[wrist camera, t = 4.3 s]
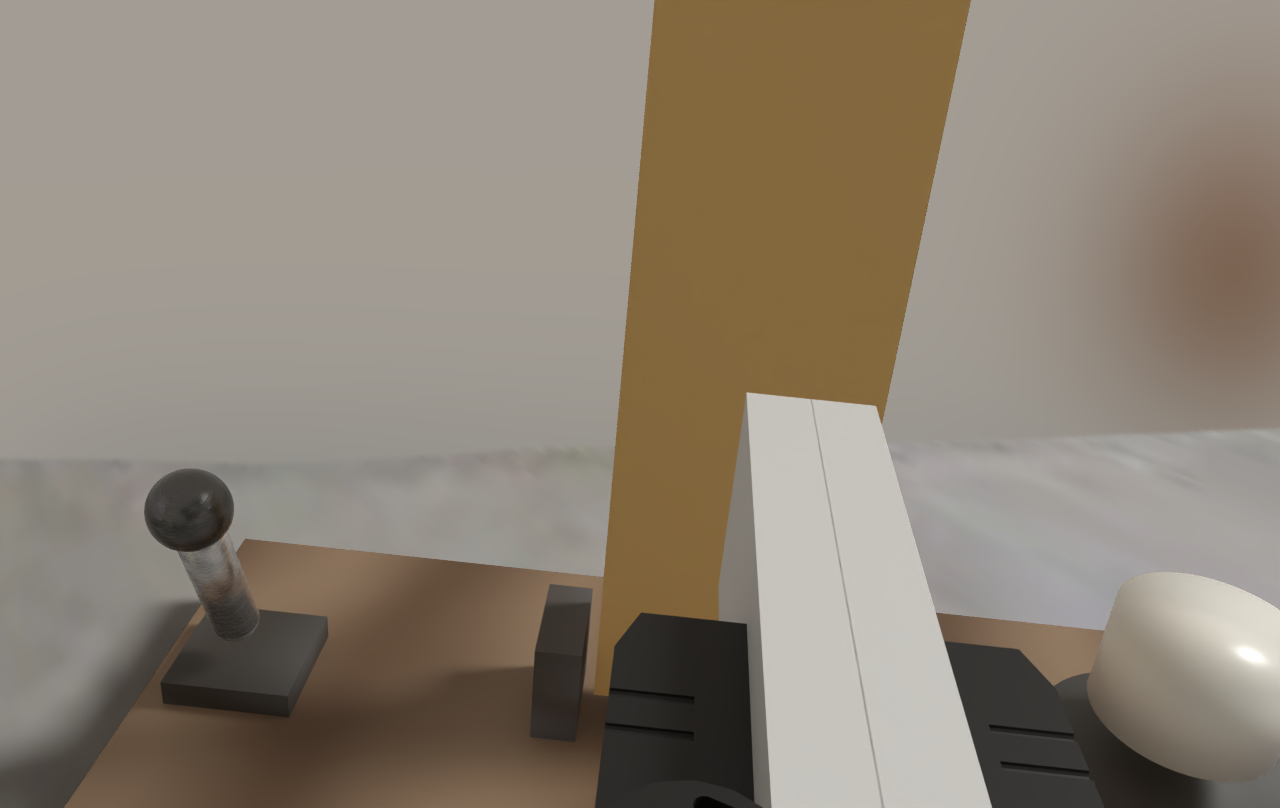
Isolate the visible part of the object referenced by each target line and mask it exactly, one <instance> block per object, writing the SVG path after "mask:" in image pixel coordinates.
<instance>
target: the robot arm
mask: <svg viewBox="0 0 1280 808" xmlns="http://www.w3.org/2000/svg"><path fill="white" fill-rule="evenodd" d="M595 808H1104V805H1103V803H1102V800H1101V798H1100V795H1099V793H1098V791H1097V788H1096V786H1095V783H1094V781H1093V780H1089V768H1088V766H1087V763H1086V761H1085V758H1084V756H1083V754H1082V751H1081V749H1080V746H1079V744H1078V742H1074V731H1073V729H1072V726H1071V724H1070V721H1069V719H1068V717H1067V714H1066V712H1065V709H1064V707H1063V704H1062V702H1061V699H1060V697H1059V694H1058V692H1057V689H1056V688H1055V687H1054V686H1053V685H1052V684H1051V683H1050V682H1049V681H1048V680H1047V679H1046V678H1045V677H1044V675H1043V674H1042V673H1041V672H1040V671H1039V670H1038V669H1037V668H1036V667H1035V666H1034V665H1033V664H1032V663H1031V662H1030V661H1029V659H1028V658H1027V657H1026V656H1025V655H1024V654H1023V653H1022V652H1021V651H1020V650H1019V649H1013V648H1004V647H994V646H985V645H976V644H966V643H957V642H948V641H944V640H943V636H942V633H941V629H940V626H939V622H938V619H937V615H936V612H935V608H934V605H933V602H932V598H931V595H930V591H929V588H928V584H927V581H926V577H925V574H924V570H923V567H922V563H921V560H920V557H919V553H918V550H917V546H916V543H915V539H914V536H913V532H912V529H911V525H910V522H909V519H908V515H907V512H906V508H905V505H904V501H903V498H902V494H901V491H900V487H899V484H898V480H897V477H896V474H895V470H894V467H893V463H892V460H891V456H890V453H889V449H888V446H887V442H886V439H885V436H884V432H883V429H882V425H881V422H880V418H879V415H878V411H877V408H876V406H872V405H862V404H853V403H843V402H833V401H824V400H814V399H805V398H795V397H785V396H776V395H766V394H757V393H746V399H745V406H744V413H743V420H742V427H741V434H740V441H739V448H738V454H737V461H736V468H735V475H734V482H733V489H732V496H731V503H730V509H729V516H728V523H727V530H726V537H725V544H724V551H723V558H722V565H721V571H720V578H719V621H717V620H707V619H698V618H689V617H679V616H670V615H660V614H651V613H642V612H641V613H640V614H639V616H638V617H637V618H636V619H635V621H634V622H633V623H632V624H631V626H630V627H629V628H628V629H627V631H626V632H625V633H624V634H623V636H622V637H621V638H620V639H619V641H618V642H617V643H616V645H615V646H614V654H613V663H612V671H611V679H610V687H609V696H608V703H607V711H606V719H605V729H604V736H603V744H602V752H601V760H600V768H599V776H598V785H597V793H596V801H595Z"/></svg>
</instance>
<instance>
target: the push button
mask: <svg viewBox="0 0 1280 808" xmlns="http://www.w3.org/2000/svg"><path fill="white" fill-rule="evenodd" d="M1087 694H1088V698H1089V701H1090V704H1091V706H1092V708H1093V710H1094V712H1095V713H1096V715H1097V716H1098V718H1099V719H1100V720H1101V722H1102V723H1103V724H1104V725H1105V726H1106V727H1107V729H1108V730H1109V731H1111V732H1112V733H1113V734H1114V735H1115V736H1116V737H1117V738H1118V739H1119V740H1121V741H1122V742H1123V743H1124V744H1126V745H1127V746H1128V747H1130V748H1131V749H1133V750H1134V751H1136V752H1137V753H1139V754H1140V755H1142V756H1144V757H1146V758H1147V759H1149V760H1151V761H1153V762H1155V763H1157V764H1159V765H1161V766H1163V767H1166V768H1168V769H1171V770H1173V771H1176V772H1178V773H1182V774H1185V775H1188V776H1191V777H1195V778H1199V779H1204V780H1210V781H1217V782H1242V781H1248V780H1253V779H1256V778H1259V777H1261V776H1263V775H1265V774H1266V773H1268V772H1269V771H1270V770H1271V769H1272V768H1273V767H1274V766H1275V764H1276V763H1277V761H1278V759H1279V757H1280V610H1278V609H1277V608H1276V607H1274V606H1272V605H1271V604H1269V603H1267V602H1266V601H1264V600H1262V599H1260V598H1258V597H1256V596H1255V595H1253V594H1250V593H1248V592H1246V591H1244V590H1242V589H1239V588H1237V587H1234V586H1232V585H1229V584H1226V583H1223V582H1220V581H1217V580H1213V579H1210V578H1206V577H1202V576H1197V575H1192V574H1185V573H1176V572H1155V573H1147V574H1143V575H1139V576H1136V577H1134V578H1132V579H1130V580H1128V581H1126V582H1125V583H1124V584H1123V585H1122V586H1121V588H1120V589H1119V591H1118V593H1117V596H1116V599H1115V602H1114V605H1113V608H1112V611H1111V614H1110V617H1109V620H1108V622H1107V625H1106V628H1105V631H1104V634H1103V637H1102V640H1101V643H1100V646H1099V648H1098V651H1097V654H1096V657H1095V660H1094V663H1093V666H1092V669H1091V672H1090V675H1089V678H1088V681H1087Z"/></svg>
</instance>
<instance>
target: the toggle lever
mask: <svg viewBox="0 0 1280 808" xmlns="http://www.w3.org/2000/svg"><path fill="white" fill-rule="evenodd" d="M144 515H145V521H146V524H147V527H148V529H149V531H150V533H151V534H152V536H153V537H154V538H155V539H156V540H157V541H158V542H159V543H161V544H162V545H164V546H165V547H167V548H170V549H172V550H176V551H178V554H179V556H180V558H181V560H182V562H183V565H184V567H185V569H186V571H187V573H188V575H189V578H190V580H191V582H192V584H193V586H194V589H195V591H196V593H197V595H198V597H199V599H200V602H201V604H202V606H203V608H204V610H205V613H206V615H207V617H208V619H209V621H210V624H211V626H212V628H213V630H214V632H215V633H216V634H217V635H218V636H219V637H220V638H221V639H223V640H225V641H229V642H240V641H243V640H245V639H247V638H249V637H250V636H251V635H252V634H253V633H254V632H255V630H256V629H257V627H258V624H259V620H260V616H259V611H258V608H257V605H256V603H255V600H254V598H253V595H252V593H251V590H250V587H249V585H248V582H247V580H246V577H245V574H244V572H243V569H242V567H241V564H240V562H239V559H238V556H237V554H236V551H235V549H234V546H233V543H232V541H231V538H230V536H229V533H228V529H229V527H230V525H231V523H232V520H233V515H234V503H233V498H232V495H231V493H230V491H229V489H228V487H227V486H226V485H225V484H224V482H223V481H222V480H220V479H219V478H218V477H217V476H215V475H214V474H212V473H209V472H207V471H204V470H200V469H181V470H177V471H174V472H172V473H169V474H168V475H166V476H164V477H163V478H161V479H160V480H159V481H158V482H157V483H156V484H155V485H154V486H153V488H152V489H151V490H150V492H149V494H148V496H147V499H146V502H145V508H144Z"/></svg>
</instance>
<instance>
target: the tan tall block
mask: <svg viewBox="0 0 1280 808" xmlns="http://www.w3.org/2000/svg"><path fill="white" fill-rule="evenodd" d="M970 2H971V0H655V2H654V13H653V24H652V36H651V47H650V58H649V70H648V81H647V82H648V83H647V92H646V105H645V115H644V127H643V138H642V139H643V140H642V149H641V161H640V172H639V183H638V196H637V207H636V218H635V229H634V240H633V253H632V263H631V275H630V286H629V297H628V308H627V320H626V331H625V343H624V355H623V367H622V377H621V388H620V399H619V411H618V422H617V435H616V445H615V456H614V467H613V479H612V490H611V502H610V513H609V524H608V536H607V547H606V558H605V570H604V581H603V592H602V604H601V615H600V626H599V638H598V649H597V661H596V672H595V683H594V695H602V696H609V687H610V679H611V671H612V663H613V654H614V646H615V645H616V643H617V642H618V641H619V639H620V638H621V637H622V636H623V634H624V633H625V632H626V631H627V629H628V628H629V627H630V626H631V624H632V623H633V622H634V621H635V619H636V618H637V617H638V616H639V614H640V613H641V612H642V613H651V614H660V615H670V616H679V617H689V618H698V619H707V620H717V621H719V578H720V571H721V565H722V558H723V551H724V544H725V537H726V530H727V523H728V516H729V509H730V503H731V496H732V489H733V482H734V475H735V468H736V461H737V454H738V448H739V441H740V434H741V427H742V420H743V413H744V406H745V399H746V393H757V394H766V395H776V396H785V397H795V398H805V399H814V400H824V401H833V402H843V403H853V404H862V405H872V406H876V408H877V411H878V415H879V418H880V422H881V425H882V421H883V416H884V412H885V406H886V402H887V397H888V393H889V388H890V383H891V378H892V374H893V369H894V364H895V359H896V354H897V350H898V345H899V340H900V335H901V330H902V326H903V321H904V316H905V311H906V307H907V302H908V297H909V293H910V287H911V283H912V278H913V273H914V268H915V264H916V259H917V254H918V250H919V245H920V240H921V235H922V231H923V226H924V221H925V216H926V212H927V207H928V202H929V197H930V192H931V188H932V183H933V178H934V174H935V168H936V164H937V159H938V154H939V150H940V144H941V140H942V135H943V131H944V126H945V121H946V116H947V112H948V106H949V102H950V97H951V92H952V88H953V83H954V78H955V73H956V69H957V64H958V59H959V54H960V49H961V45H962V40H963V35H964V30H965V26H966V21H967V16H968V12H969V7H970Z"/></svg>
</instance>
